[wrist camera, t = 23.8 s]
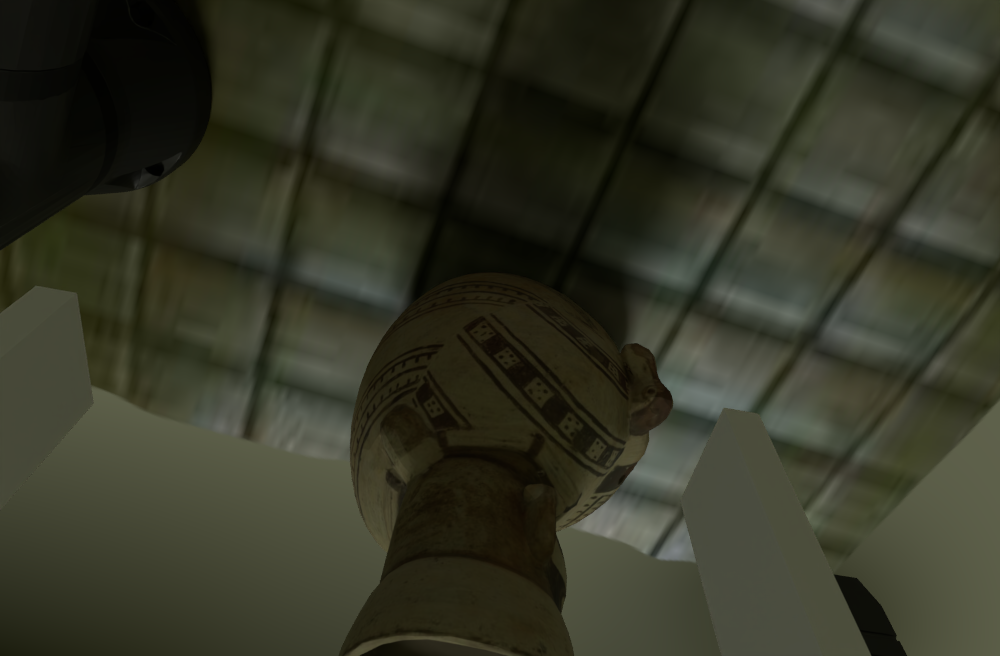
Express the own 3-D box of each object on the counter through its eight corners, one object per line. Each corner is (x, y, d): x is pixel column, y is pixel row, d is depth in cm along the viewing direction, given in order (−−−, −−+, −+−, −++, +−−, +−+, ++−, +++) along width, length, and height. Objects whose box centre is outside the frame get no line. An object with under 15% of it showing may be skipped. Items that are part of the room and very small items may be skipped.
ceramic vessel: (671, 396, 57) (790, 793, 31) (438, 457, 61) (376, 849, 36) (610, 190, 48) (709, 514, 22) (341, 278, 52) (165, 635, 26)
